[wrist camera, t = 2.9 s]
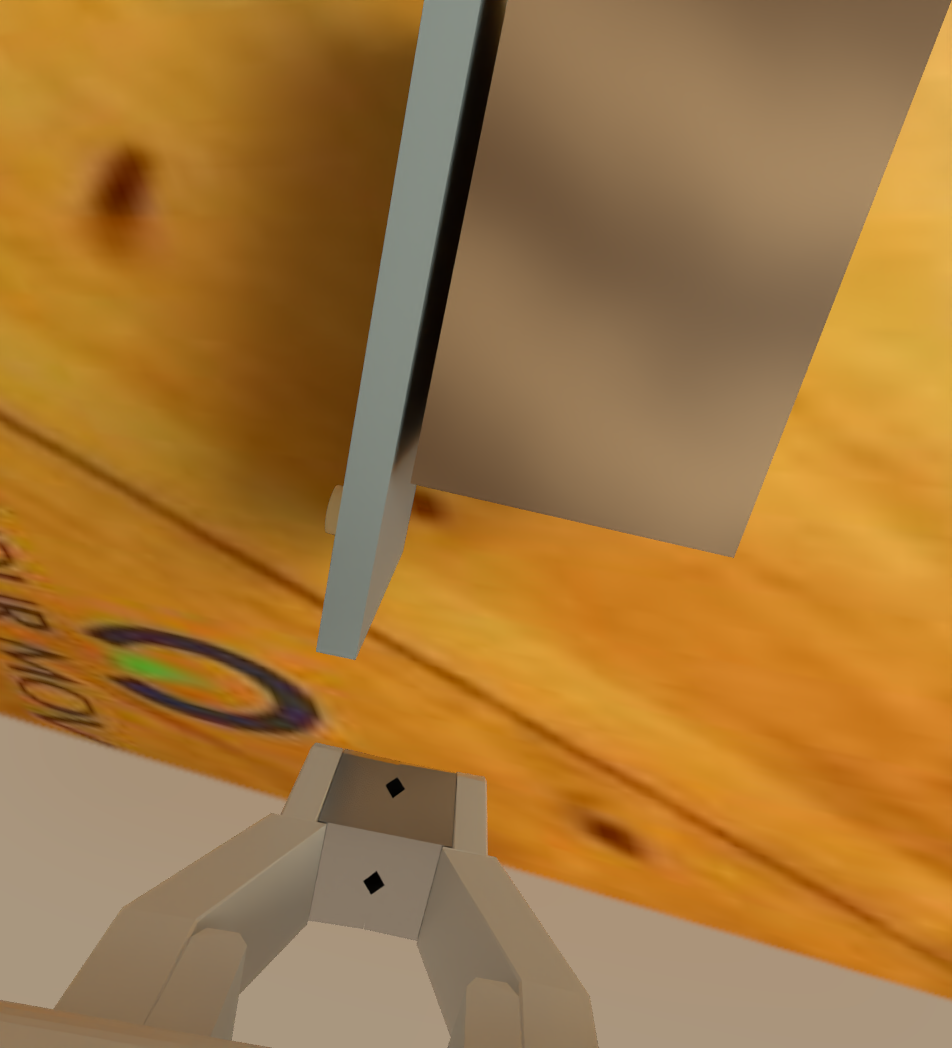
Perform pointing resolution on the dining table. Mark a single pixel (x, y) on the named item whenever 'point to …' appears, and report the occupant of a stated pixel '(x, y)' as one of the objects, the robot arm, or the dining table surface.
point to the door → (408, 310)
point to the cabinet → (659, 250)
